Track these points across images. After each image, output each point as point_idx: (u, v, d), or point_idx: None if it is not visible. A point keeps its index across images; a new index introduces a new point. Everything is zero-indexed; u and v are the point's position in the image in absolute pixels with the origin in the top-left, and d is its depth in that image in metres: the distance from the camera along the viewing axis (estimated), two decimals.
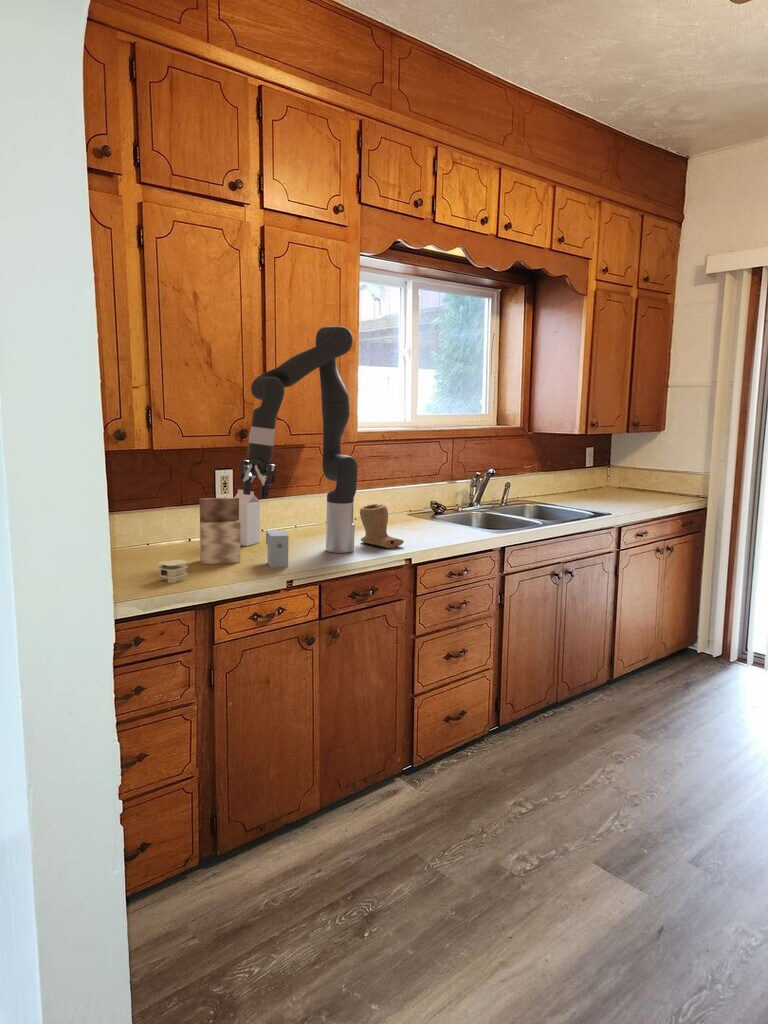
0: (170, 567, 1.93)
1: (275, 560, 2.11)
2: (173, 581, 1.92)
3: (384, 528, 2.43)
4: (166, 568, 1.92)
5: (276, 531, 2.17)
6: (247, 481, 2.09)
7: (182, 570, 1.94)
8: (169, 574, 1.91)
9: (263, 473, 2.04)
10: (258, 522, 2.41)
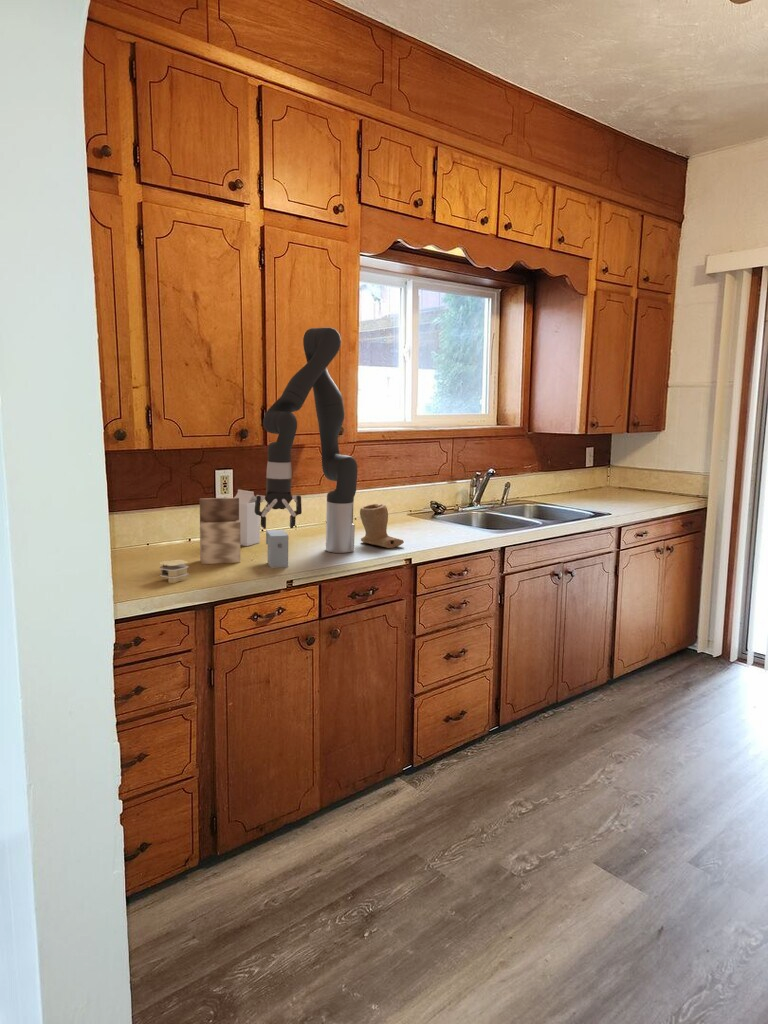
0: (171, 567, 1.93)
1: (275, 560, 2.11)
2: (174, 581, 1.92)
3: (384, 528, 2.43)
4: (167, 568, 1.92)
5: (276, 531, 2.17)
6: (265, 515, 2.09)
7: (183, 570, 1.94)
8: (170, 574, 1.91)
9: None
10: (258, 522, 2.41)
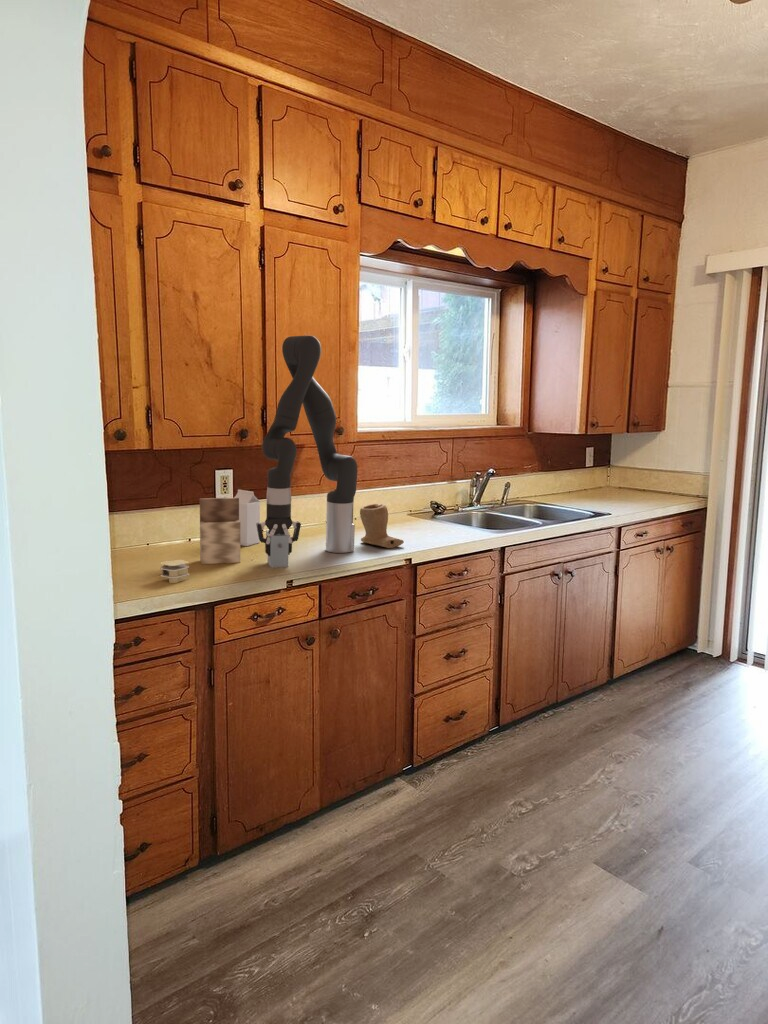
0: (172, 567, 1.93)
1: (275, 560, 2.11)
2: (175, 581, 1.92)
3: (384, 528, 2.43)
4: (168, 568, 1.92)
5: None
6: (269, 542, 2.11)
7: (184, 570, 1.94)
8: (171, 574, 1.91)
9: None
10: (258, 522, 2.41)
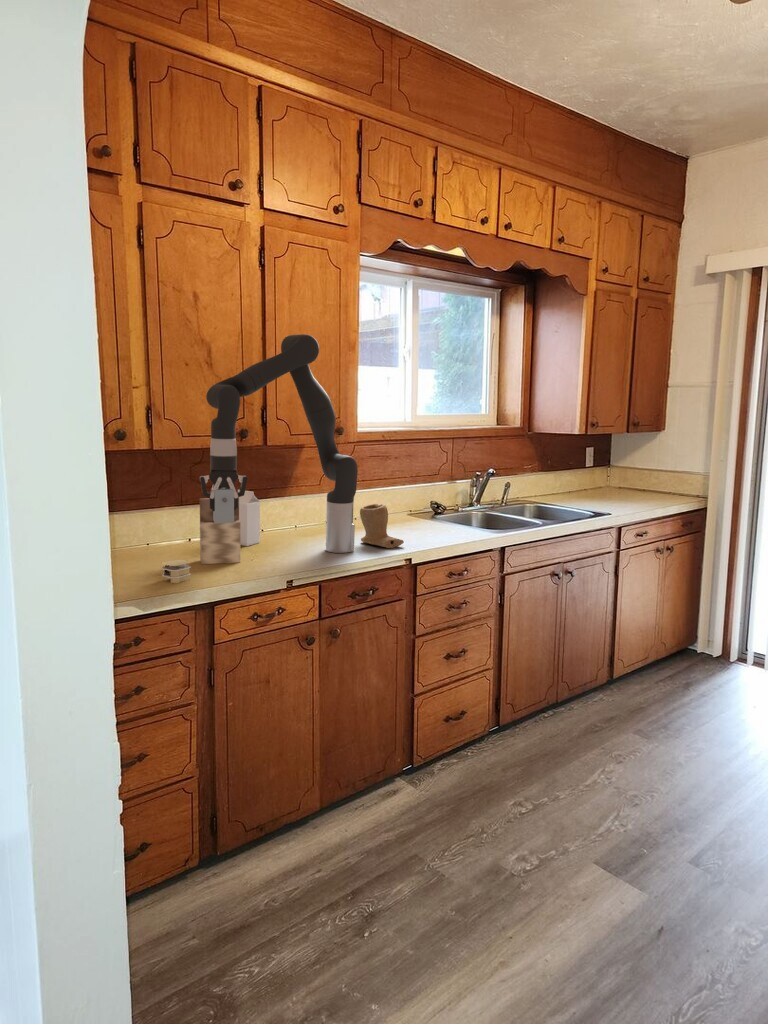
0: (173, 567, 1.93)
1: (219, 515, 2.00)
2: (176, 581, 1.92)
3: (384, 528, 2.43)
4: (169, 568, 1.92)
5: None
6: (213, 497, 2.01)
7: (185, 570, 1.94)
8: (172, 574, 1.91)
9: None
10: (258, 522, 2.41)
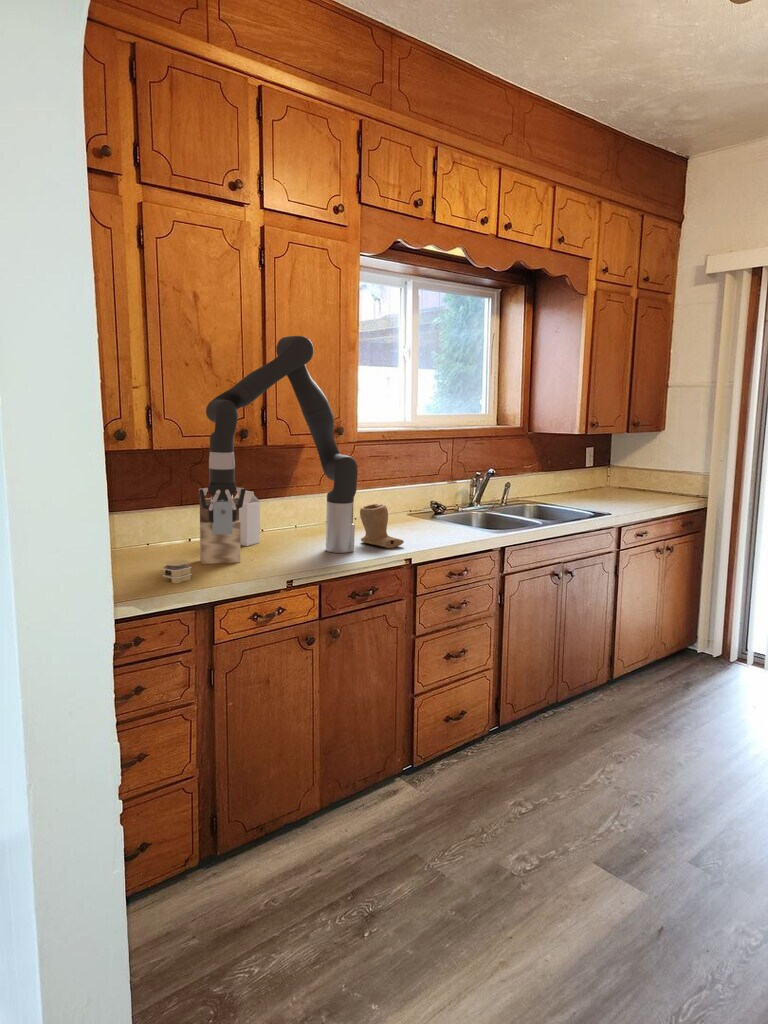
0: (174, 567, 1.93)
1: (218, 526, 2.05)
2: (177, 581, 1.92)
3: (384, 528, 2.43)
4: (170, 568, 1.92)
5: None
6: (212, 509, 2.06)
7: (186, 570, 1.94)
8: (173, 574, 1.91)
9: None
10: (258, 522, 2.41)
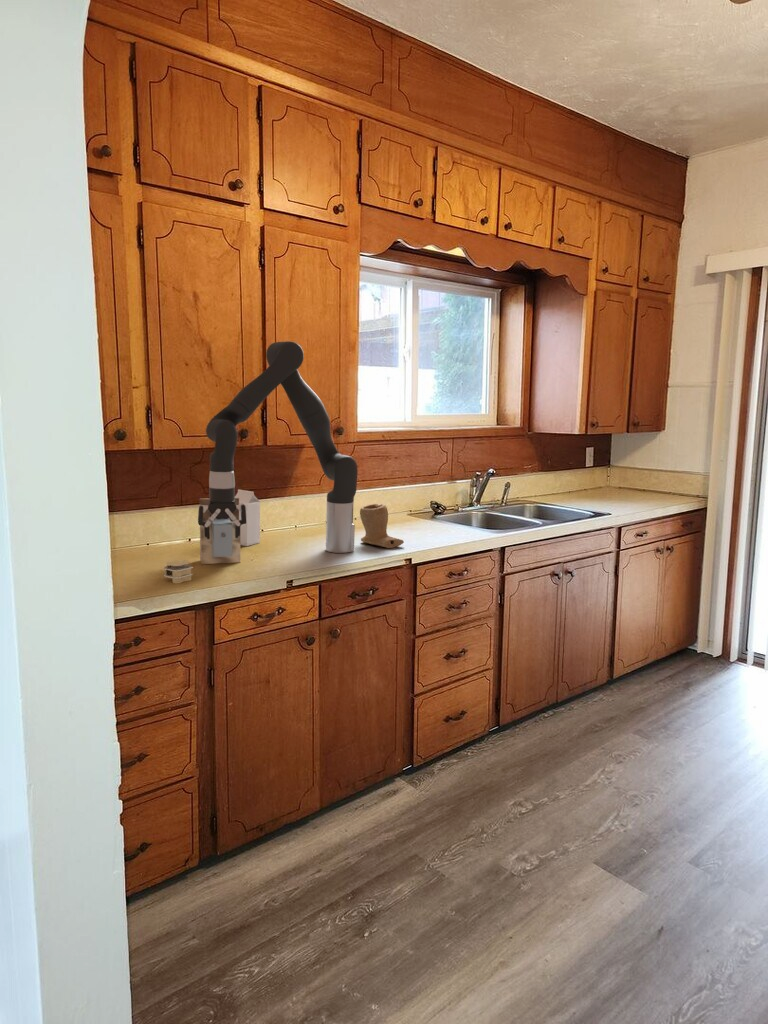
0: (175, 567, 1.93)
1: (218, 549, 2.07)
2: (178, 581, 1.92)
3: (384, 528, 2.43)
4: (171, 568, 1.92)
5: (221, 519, 2.12)
6: (208, 525, 2.06)
7: (187, 570, 1.94)
8: (174, 574, 1.91)
9: None
10: (258, 522, 2.41)
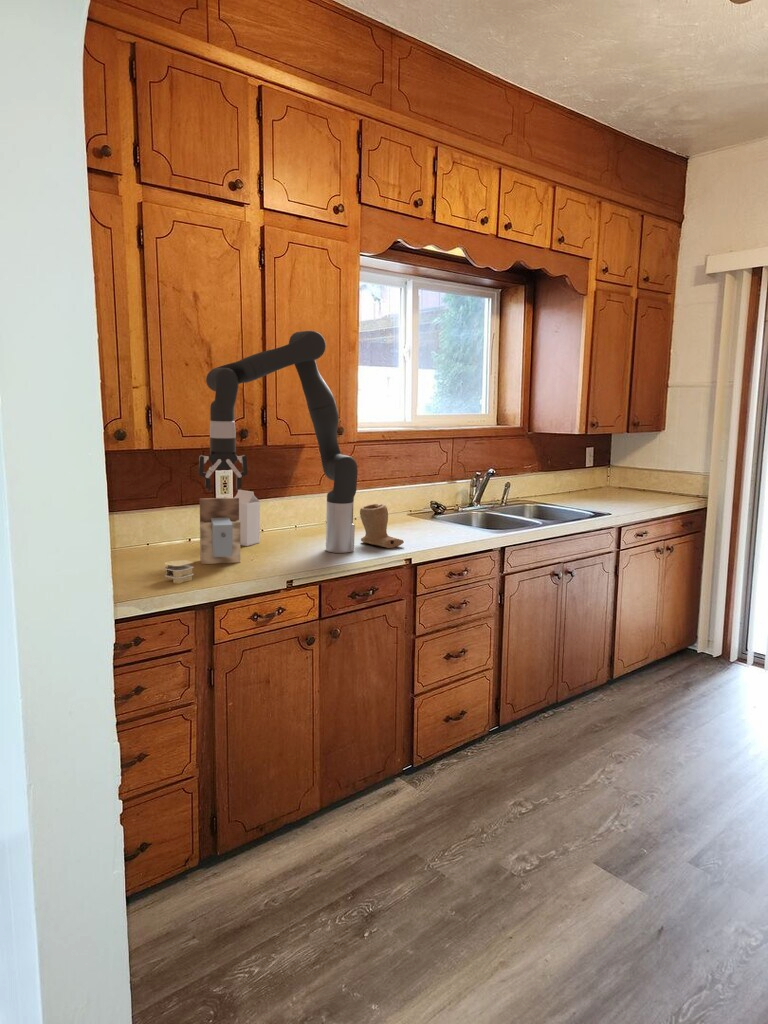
0: (176, 567, 1.93)
1: (218, 549, 2.07)
2: (179, 581, 1.92)
3: (384, 528, 2.43)
4: (172, 568, 1.92)
5: (221, 519, 2.12)
6: None
7: (188, 570, 1.94)
8: (175, 574, 1.91)
9: None
10: (258, 522, 2.41)
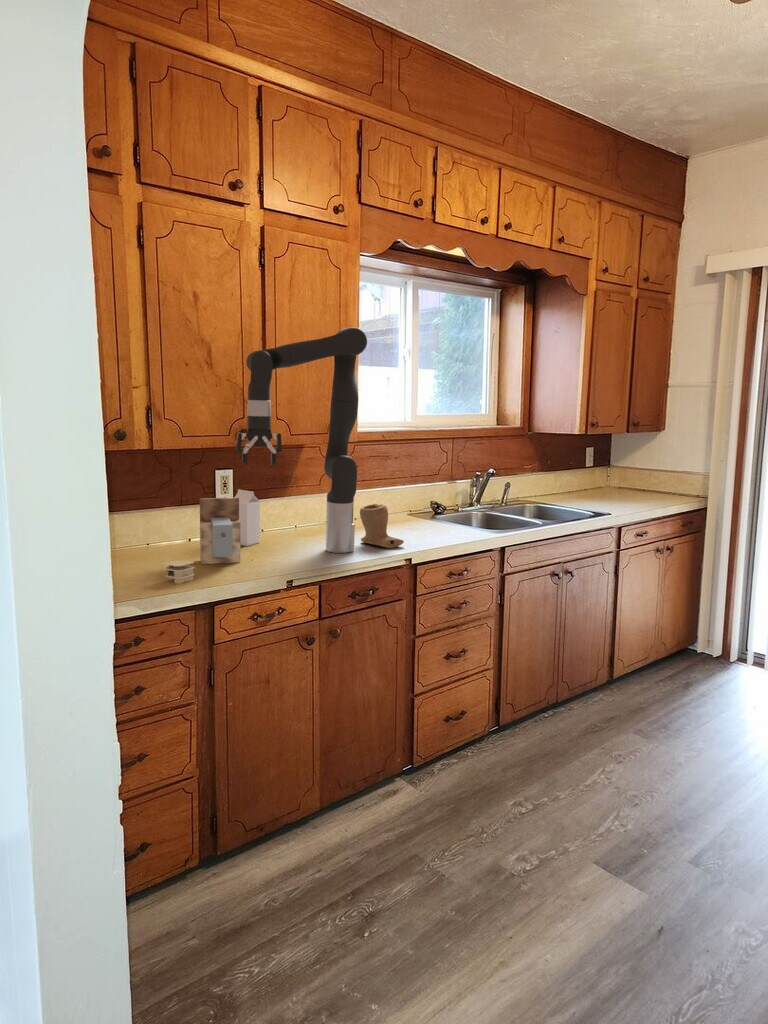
0: (177, 567, 1.93)
1: (218, 549, 2.07)
2: (180, 582, 1.92)
3: (384, 528, 2.43)
4: (173, 568, 1.92)
5: (221, 519, 2.12)
6: (246, 452, 2.18)
7: (189, 571, 1.94)
8: (176, 574, 1.91)
9: None
10: (258, 522, 2.41)
